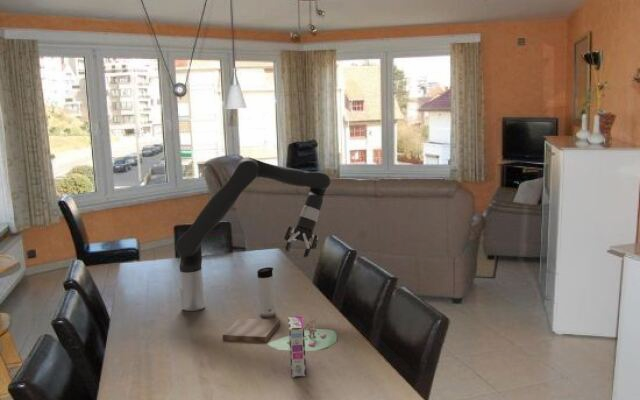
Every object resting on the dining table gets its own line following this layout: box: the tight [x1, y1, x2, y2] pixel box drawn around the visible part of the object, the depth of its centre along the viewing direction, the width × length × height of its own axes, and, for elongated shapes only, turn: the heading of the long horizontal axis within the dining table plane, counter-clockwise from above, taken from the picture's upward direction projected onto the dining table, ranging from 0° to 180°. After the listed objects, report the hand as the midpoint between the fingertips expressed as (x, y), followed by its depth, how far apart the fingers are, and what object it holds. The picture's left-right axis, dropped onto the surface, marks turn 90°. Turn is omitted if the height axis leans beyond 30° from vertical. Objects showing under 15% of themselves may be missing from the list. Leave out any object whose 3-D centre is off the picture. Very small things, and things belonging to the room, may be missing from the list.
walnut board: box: [222, 318, 281, 343], centre depth 226 cm, size 17×17×2 cm
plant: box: [267, 316, 338, 352], centre depth 215 cm, size 25×21×9 cm
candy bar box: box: [287, 315, 307, 379], centre depth 191 cm, size 11×5×16 cm, turn 5°
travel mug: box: [257, 266, 276, 318], centre depth 243 cm, size 6×7×20 cm
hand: (296, 254), depth 249 cm, fingers open, 8 cm apart
